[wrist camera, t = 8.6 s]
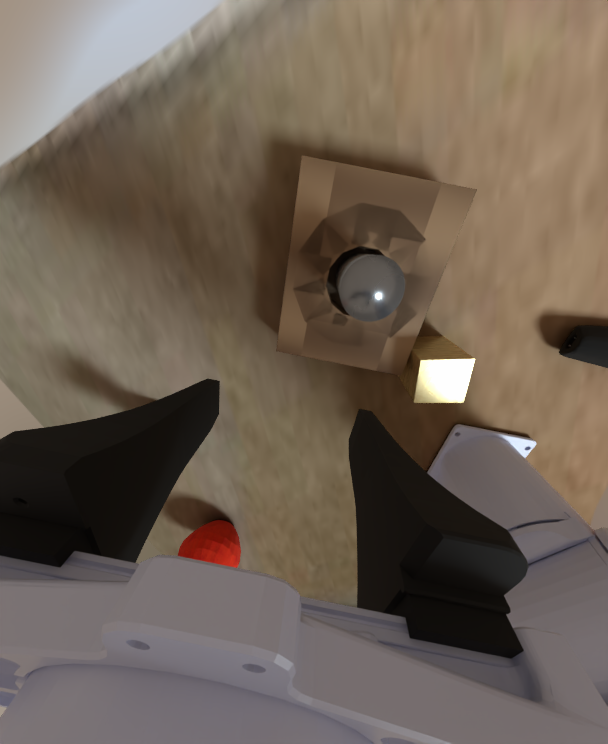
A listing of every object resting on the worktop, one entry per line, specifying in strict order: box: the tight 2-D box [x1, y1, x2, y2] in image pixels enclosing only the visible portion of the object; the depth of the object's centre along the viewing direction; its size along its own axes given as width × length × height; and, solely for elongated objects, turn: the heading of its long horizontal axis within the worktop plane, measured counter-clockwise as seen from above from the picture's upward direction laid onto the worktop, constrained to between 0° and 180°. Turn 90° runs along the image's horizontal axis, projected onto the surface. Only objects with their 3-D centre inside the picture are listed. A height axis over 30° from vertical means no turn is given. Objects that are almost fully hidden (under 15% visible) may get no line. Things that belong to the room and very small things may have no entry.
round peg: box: [335, 254, 405, 322], centre depth 15 cm, size 3×3×7 cm
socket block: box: [276, 155, 477, 376], centre depth 18 cm, size 12×10×3 cm
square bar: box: [398, 336, 475, 403], centre depth 19 cm, size 3×3×5 cm
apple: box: [178, 520, 241, 568], centre depth 32 cm, size 8×8×7 cm
